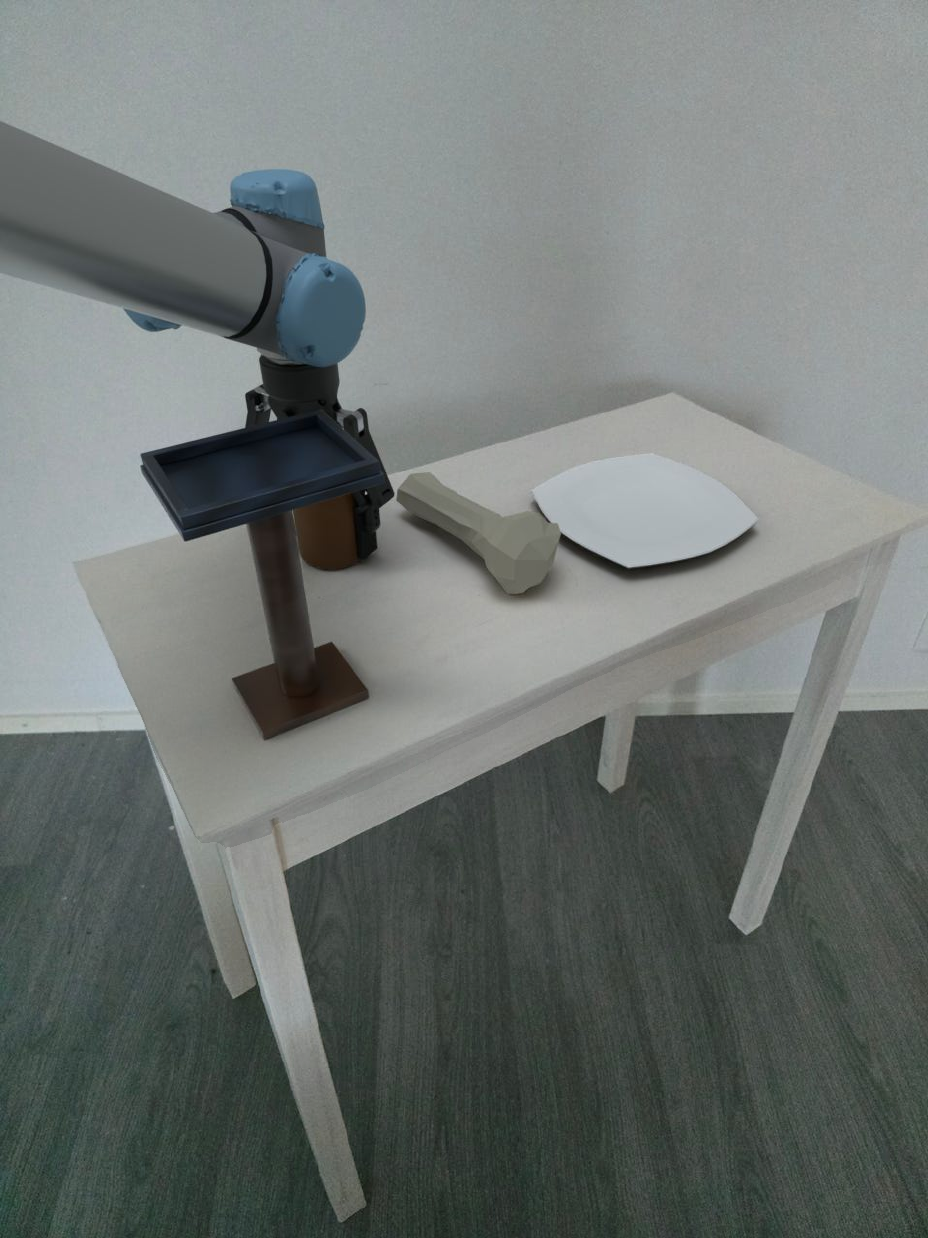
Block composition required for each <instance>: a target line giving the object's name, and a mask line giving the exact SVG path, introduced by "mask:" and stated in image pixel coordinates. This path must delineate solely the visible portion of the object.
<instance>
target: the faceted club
mask: <svg viewBox="0 0 928 1238" xmlns="http://www.w3.org/2000/svg"><path fill="white" fill-rule="evenodd" d="M396 502H397V503H398V504H399V505H401V506H402V508H404V509H405V510H407V511H408V512H410V513H411V514H412V515H414V516H415V517H417V518H420V519H423V520H425V521H426V522H429V523H432V524H434V525H436V526H437V527H439V528H440V529H442V530H444V531H446V532H448V533H449V534H451V535H452V536H454V537H456V538H458V539H459V540H461V541H462V542H463V543H464V544H466V546H468V547H469V548H470V549H471V550H473V551H474V552H475V553H476V554H477V555H479V557H481V559H483V560H484V562H485V565H486V568H487V569H488V571H489V572H490V574H491V575H492V576H493V578H495V580H497V582H498V584H499V586H500V587H501V588H502V589H503V590H504V592H505V593H506V594H507V595H514V594H515V595H517V594H523V593H524V592H526V591H527V590H528V589H529V588H532V587H535V586H537V585H540V584H541V583H542V581H543V580H544V579H545V577H546V576H547V574H548V573H549V572H550V570H551V569H552V567H553V564H554V561H555V558H556V554H557V549H558V546H559V542H560V539H561V535H562V533H561V531H560V528H559V526H558V523H550V522H549V521H548V520H547V519H546V518H545V517H544V516H543V515H542V514H541V513H539V512H535V511H523V512H518V513H514V514H510V515H505V516H502V515H500V514H498V513H496V512H494V511H492V510H491V509H489V508H486V507H485V506H483V505H481V504H479V503H477V502H475V501H473V500H471V499H469V498H467V497H465V496H463V495H461V494H459V493H458V492H457V491H456V490H454V489H452V488H450V487H448V486H445V485H444V484H443V483H442V482H441V481H440V480H439V479H438V477H436V476H435V475H434V474H433V473H432V472H431V471H426V472H425V471H424V472H414V473H413V472H412V473H410V474H409V475H408V476H407V477H406V479H404V481H403V482H402V483H401V484H400V486H399V487H398V488H397V490H396Z"/></svg>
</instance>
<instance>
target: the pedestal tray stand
mask: <svg viewBox="0 0 928 1238" xmlns="http://www.w3.org/2000/svg"><path fill="white" fill-rule="evenodd" d="M140 459H141V463H142V464H141V465H140V471H141V474H142V476H143V477H144V479H145V481H146V482H147V484H148V485H149V487H150V489H151V490H152V492H153V494H154V495H155V497H156V498H157V500H158V501H159V503H160V505H161V506H162V508H163V509H164V512H165V513H166V515H167V517H168V518H169V519H170V521H171V522H172V524H173V526H174V527H175V529H176V530H177V532H178V533H179V535H180V537H181V538H182V540H183V541H184V542H186V543H187V542H190V541H193V540H196V539H199V538H203V537H207V536H209V535H213V534H217V533H220V532H223V531H227V530H230V529H235V528H237V527H240V526H241V527H242V526H243V525H246V529H247V534H248V539H249V544H250V545H249V546H250V549H251V554H252V559H253V565H254V570H255V574H256V579H257V584H258V588H259V595H260V597H261V603H262V609H263V614H264V619H265V624H266V628H267V633H268V634H267V635H268V639H269V645H270V648H271V653H272V658H273V662H272V663H270V664H267V665H265V666H262V667H258V668H256V669H254V670H251V671H248V672H246V673H243V674H240V675H238V676H234V677H232V678H231V681H232V685H233V688H234V690H235V692H236V693H237V695H238V696H239V699H240V700H241V702H242V704H243V705H244V707H245V709H246V710H247V712H248V714H249V716H250V718H251V720H252V721H253V723H254V725H255V726H256V728H257V730H258V732H259V733H260V736H261V737H262V739H263V741H266V740H269V739H271V738H273V737H276V736H279V735H281V734H283V733H286V732H288V731H291V730H294V729H296V728H298V727H301V726H303V725H306V724H308V723H310V722H313V721H316V720H318V719H321V718H323V717H325V716H328V715H331V714H332V713H336V712H338V711H340V710H342V709H345V708H347V707H351V706H352V705H354V704H357V703H360V702H362V701H365V700H367V699H369V698H370V693H369V689H368V688H367V687H366V685H365V684H364V683H363V681H362V680H361V678H360V677H359V676H358V674H357V672H355V670H354V669H353V668H352V666H351V665H350V664H349V662H348V661H347V659H345V657H344V655H343V654H342V653H341V652H340V651H339V649H338V648H337V646H336V645H335V644H334V642H333V641H330V642H327V643H324V644H321V645H318V646H316V647H315V645H314V640H313V634H312V633H313V632H312V627H311V620H310V614H309V613H310V612H309V608H308V601H307V595H306V588H305V583H304V576H303V571H302V564H301V558H300V557H301V556H300V550H299V545H298V539H297V533H296V527H295V521H294V515H293V510H295V509H298V508H302V507H305V506H308V505H312V504H315V503H319V502H322V501H325V500H329V499H332V498H336V497H339V496H342V495H346V494H349V493H353V492H356V491H359V490H363V489H366V488H370V487H373V486H376V485H380V484H383V483H384V474H383V473H382V472H381V471H380V464H379V461H378V460H377V459H376V458H374V456H373V455H372V454H370V453H369V452H368V451H367V450H366V449H365V448H364V447H363V446H362V445H360V444H359V443H358V442H357V441H356V440H355V439H354V438H353V437H352V436H350V435H349V434H348V433H347V432H346V431H345V430H344V429H343V428H342V427H340V426H339V425H338V424H337V423H336V422H335V421H334V420H333V419H332V418H330V417H329V416H328V415H327V414H326V413H325V412H324V411H323V410H322V409H319V410H315V411H311V412H307V413H303V414H299V415H295V416H291V417H287V418H283V419H279V420H277V419H275V420H271V421H269V422H267V423H263V424H259V425H254V426H250V427H246V428H245V427H242V428H237V429H235V430H230V431H226V432H222V433H218V434H214V435H210V436H206V437H201V438H198V439H195V440H190V441H186V442H182V443H178V444H174V445H170V446H169V445H168V446H166V447H161V448H157V449H154V450H150V451H147V452H142V453H140Z"/></svg>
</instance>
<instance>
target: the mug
mask: <svg viewBox="0 0 928 1238" xmlns="http://www.w3.org/2000/svg"><path fill="white" fill-rule="evenodd" d="M356 504H357V502H356V500H355V498H354V497H353V495H352V494H351V493H349V494H346V495H342V496H339V497H336V498H332V499H329V500H325V501H322V502H319V503H315V504H312V505H308V506H305V507H302V508H298V509H295V510H292V513H293V519H294V525H295V532H296V538H297V544H298V551H299V555H300V557H301V558H302V560H303V561H304V562H305V563H307V564H308V565H309V566H311V567H314V568H317V569H321V570H340V569H344V568H347V567H351V566H352V565H354V564H356V563H358V562H359V561H361V559H358V554H357V545H356V536H355V527H354V517H353V508H352V507H354V506H355V505H356Z"/></svg>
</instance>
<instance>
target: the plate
mask: <svg viewBox="0 0 928 1238" xmlns="http://www.w3.org/2000/svg"><path fill="white" fill-rule="evenodd" d="M530 493H531V494H532V496H533V498H534V500H535V502H536V504H537V505H538V507H539V509H540V510H541V512H542V514H543V515H544V516H545V517H546V518H545V519H546V520H547V521H548V523H558V526H559V528H560V531H561V535H563V536H564V537H565V538H567V539H568V540H569V541H571V542H573V543H575V544H576V545H578V546H579V547H582V548H583V549H585V550H587V551H588V552H590V553H593V554H594V555H597V556H599V557H601V558H602V559H603V558H604V559H605V560H608V561H610V562H612V563H614V564H617V565H619V566H620V567H623V568H625V569H628V570H631V569H639V568H647V567H655V566H659V565H666V564H672V563H678V562H683V561H686V560H692V559H695V558H698V557H702V556H706V555H709V554H711V553H713V552H715V551H717V550H719V549H722V548H724V547H726V546H727V545H729V544H731V542H733V541H735V540H736V539H738V538H739V537H740V536H742V535H743V534H745V533H746V532H747V531H749V530H750V529H751V528H752V527H754V526H755V524H757V523H758V522H759V521H760V519H759V517H757V515H755V513H754V512H753V511H752V510H751V509H750V508H749V507H748V506H747V504H746V503H744V501H743V500H741V499H740V497H739V496H738V495H737V494H735V493H734V492H733V491H732V490H730V489H729V488H728V487H727V486H725V484H723V483H721V482H720V481H718V480H717V479H716V478H714V477H712V476H710V475H708V474H706V473H705V472H702V471H701V470H698V469H696V468H693V467H691V466H689V465H686V464H684V463H681V462H678V461H676V460H673V459H671V458H667V457H666V456H662V455H659V454H656V453H654V452H649V453H648V452H647V453H640V454H629V455H622V456H616V457H610V458H604V459H598V460H594V461H589V462H585V463H582V464H579V465H577V466H574V467H571V468H569V469H567V470H565V471H563V472H561V473H558V474H557V475H554V476H552V477H551V478H549V479H548V480H545V481H543V482H542V483H540V484H539V485H537V486H535V487H533V488H532V489H530Z"/></svg>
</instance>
